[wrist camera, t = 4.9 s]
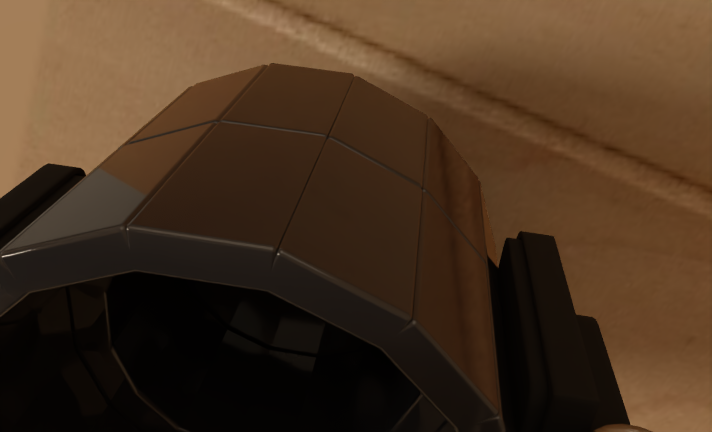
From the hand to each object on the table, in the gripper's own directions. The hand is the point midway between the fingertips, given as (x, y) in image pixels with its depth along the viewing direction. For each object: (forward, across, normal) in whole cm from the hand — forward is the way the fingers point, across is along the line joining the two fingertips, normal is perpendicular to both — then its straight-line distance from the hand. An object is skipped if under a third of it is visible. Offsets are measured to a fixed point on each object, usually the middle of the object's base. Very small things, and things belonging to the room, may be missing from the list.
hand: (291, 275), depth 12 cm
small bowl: (+1, 0, 0) cm, 1 cm away
